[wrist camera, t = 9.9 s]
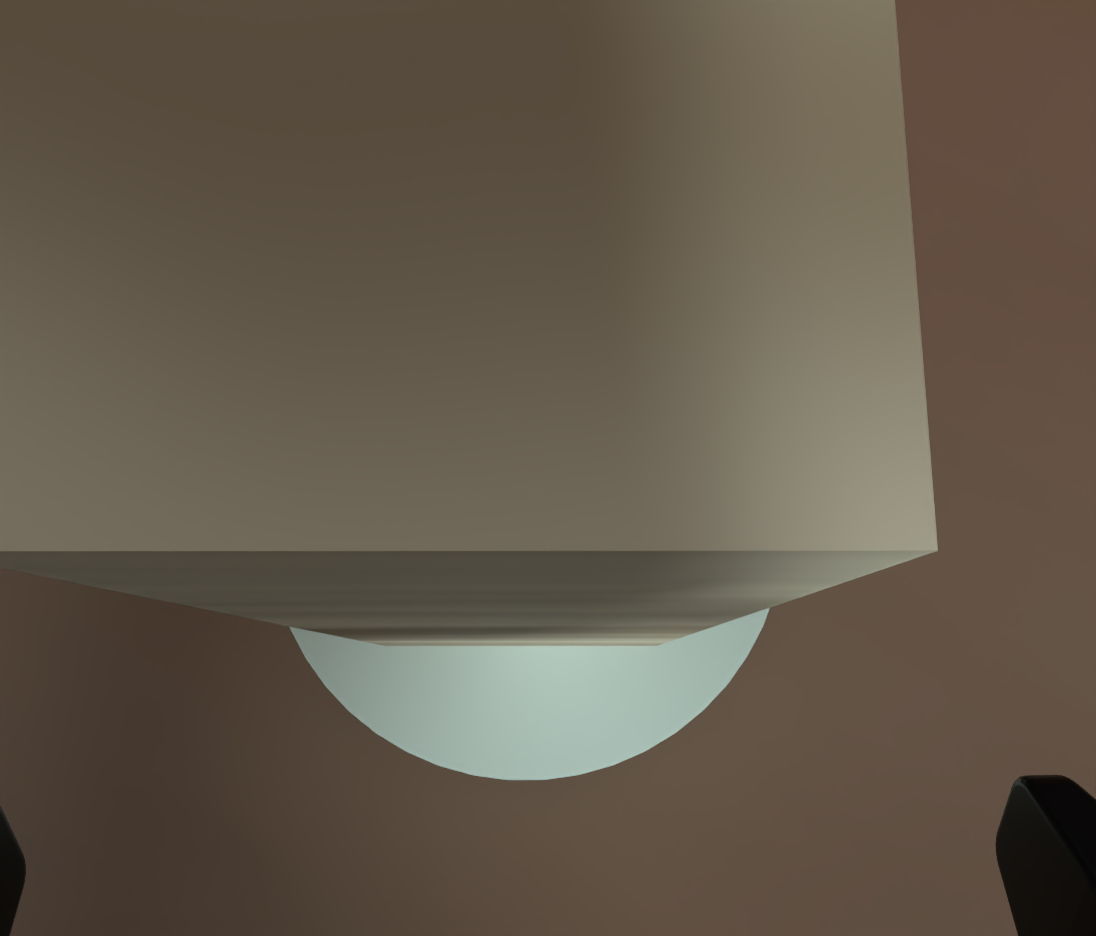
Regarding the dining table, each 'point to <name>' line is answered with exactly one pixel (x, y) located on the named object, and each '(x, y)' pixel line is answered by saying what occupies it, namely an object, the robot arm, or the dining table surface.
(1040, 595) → the dining table surface
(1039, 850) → the robot arm
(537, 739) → the plinth
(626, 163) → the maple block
